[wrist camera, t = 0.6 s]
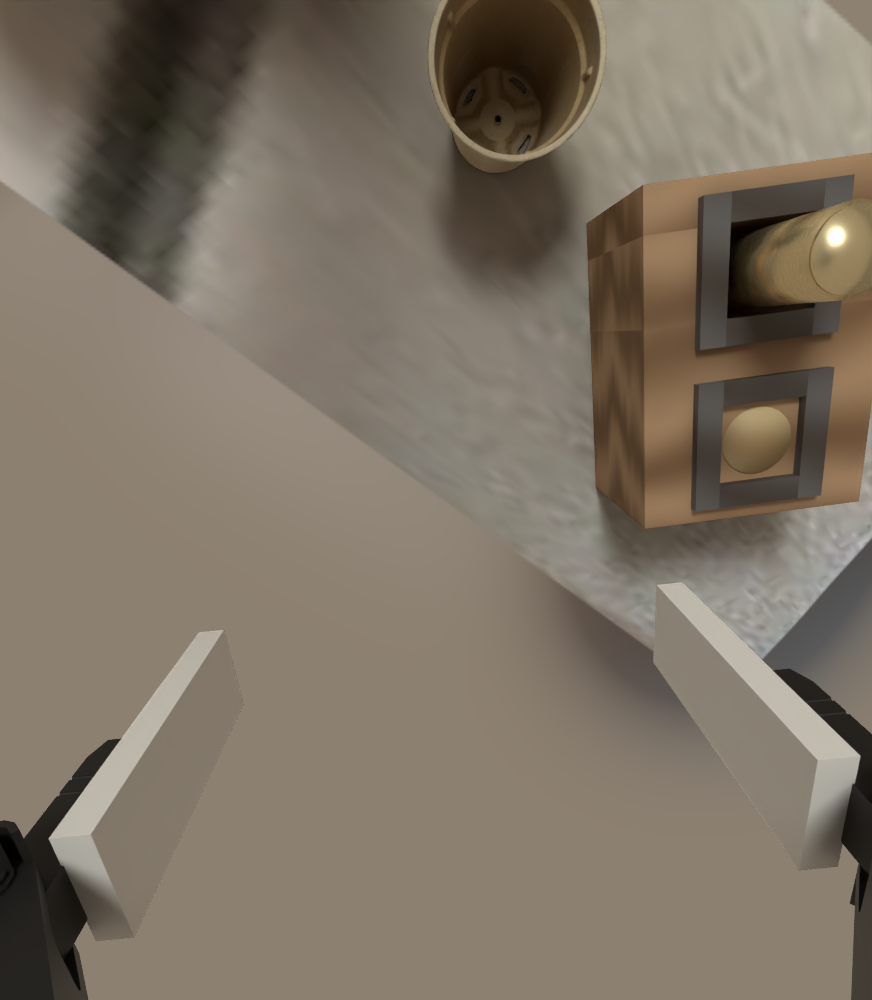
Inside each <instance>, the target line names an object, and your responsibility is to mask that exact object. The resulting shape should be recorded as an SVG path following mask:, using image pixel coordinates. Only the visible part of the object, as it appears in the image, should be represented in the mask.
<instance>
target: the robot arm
mask: <svg viewBox="0 0 872 1000" xmlns="http://www.w3.org/2000/svg"><path fill="white" fill-rule="evenodd" d="M653 662H654V664H655V665H656V666H657V668H658V669H659V671H660V672H661V674H662V675H663V676H664V678H665V679H666V681H667V682H668V684H669V685H670V687H671V688H672V689H673V691H674V692H675V694H676V695H677V697H678V698H679V699H680V701H681V702H682V704H683V705H684V706H685V708H686V709H687V711H688V712H689V714H690V715H691V717H692V718H693V720H694V721H695V722H696V724H697V725H698V727H699V728H700V730H701V731H702V732H703V734H704V735H705V737H706V738H707V739H708V741H709V742H710V744H711V745H712V746H713V748H714V750H715V751H716V752H717V754H718V755H719V756H720V758H721V759H722V761H723V763H724V764H725V765H726V767H727V768H728V770H729V771H730V773H731V774H732V775H733V777H734V778H735V780H736V781H737V783H738V784H739V786H740V787H741V788H742V790H743V791H744V793H745V794H746V796H747V797H748V798H749V800H750V801H751V803H752V804H753V806H754V807H755V808H756V810H757V811H758V813H759V814H760V816H761V817H762V818H763V820H764V821H765V823H766V824H767V826H768V827H769V829H770V830H771V831H772V833H773V834H774V836H775V837H776V839H777V840H778V841H779V843H780V844H781V846H782V847H783V849H784V850H785V851H786V853H787V854H788V856H789V857H790V859H791V860H792V861H793V863H794V864H795V866H796V867H797V869H798V870H808V869H818V868H828V867H837V866H838V863H839V858H840V853H841V848H842V844H843V845H844V846H845V847H846V848H847V849H848V851H849V852H850V853H851V854H852V855H853V857H854V858H855V859H856V860H857V862H858V863H859V865H858V869H857V874H856V879H855V883H854V887H853V892H852V896H851V901H850V904H852V905H854V906H855V918H854V944H853V968H852V993H851V994H852V995H851V1000H872V734H871V733H870V732H869V731H868V730H866V729H865V728H864V727H863V726H862V725H861V724H860V723H859V722H858V721H856V720H855V719H854V718H853V717H852V716H851V715H850V714H846V711H845V710H844V709H843V708H842V707H841V706H840V705H839V704H838V703H836V702H835V701H832V700H831V697H830V696H829V695H828V694H826V693H825V692H824V691H823V690H822V689H821V688H820V687H819V686H818V685H816V684H815V683H814V682H813V681H811V680H809V679H808V678H806V677H804V676H802V675H800V674H798V673H797V672H795V671H793V670H791V669H782V670H771V668H769V667H768V666H767V665H766V664H765V663H764V662H763V661H762V660H761V659H760V658H759V657H758V656H757V655H756V654H755V653H754V652H753V651H752V650H751V649H750V648H749V647H748V646H747V645H746V644H745V643H744V642H743V641H742V640H741V639H740V638H739V637H738V636H737V635H736V634H735V633H734V632H732V631H731V630H730V629H729V628H728V627H727V626H726V625H725V624H724V623H723V622H722V621H721V620H720V619H719V618H718V617H717V616H716V615H715V614H714V613H713V612H712V611H711V610H710V609H709V608H708V607H707V606H706V605H705V604H704V603H703V602H702V601H701V600H700V599H699V598H698V597H696V596H695V595H694V594H693V593H692V592H691V591H690V590H689V589H688V588H687V587H686V586H685V585H684V584H683V583H682V582H680V583H671V584H661V585H657V587H656V611H655V636H654V661H653ZM243 705H244V702H243V699H242V695H241V691H240V688H239V684H238V680H237V676H236V673H235V669H234V665H233V661H232V658H231V654H230V650H229V647H228V643H227V639H226V635H225V631H224V630H217V631H207V632H199V633H198V634H197V636H196V637H195V638H194V640H193V641H192V643H191V644H190V645H189V647H188V648H187V650H186V651H185V652H184V654H183V655H182V656H181V658H180V659H179V660H178V662H177V663H176V664H175V666H174V667H173V669H172V670H171V671H170V673H169V674H168V676H167V677H166V678H165V680H164V681H163V682H162V684H161V685H160V687H159V688H158V689H157V691H156V692H155V693H154V695H153V696H152V698H151V699H150V700H149V702H148V703H147V704H146V706H145V707H144V709H143V710H142V711H141V713H140V714H139V715H138V717H137V718H136V719H135V721H134V722H133V723H132V725H131V726H130V728H129V729H128V730H127V732H126V733H125V734H124V736H123V737H122V739H113V740H108V741H106V742H105V743H104V744H103V745H102V746H101V747H99V748H98V749H97V750H96V751H94V752H93V753H92V754H91V755H90V756H88V757H87V758H86V759H85V761H84V762H83V763H82V765H81V766H80V767H79V768H78V770H77V771H76V772H75V774H74V775H73V776H72V780H69V781H68V783H67V784H66V785H65V786H64V788H63V789H62V790H61V792H60V795H59V796H57V797H56V798H55V799H54V801H53V802H52V803H51V805H50V806H49V807H48V808H47V810H46V811H45V812H44V813H43V815H42V816H41V817H40V819H39V820H38V821H37V822H36V824H35V825H34V826H33V828H32V829H31V830H30V831H29V833H28V834H27V835H26V837H25V838H24V839H23V837H22V835H21V832H20V830H19V829H18V827H17V825H16V824H15V823H14V822H10V821H5V820H4V821H0V1000H88V996H87V991H86V986H85V981H84V976H83V971H82V965H81V960H80V955H79V952H78V950H77V948H76V946H75V944H74V943H75V941H76V939H77V937H78V935H79V934H80V932H81V930H82V928H83V926H84V925H85V923H86V921H87V923H88V925H89V927H90V929H91V931H92V934H93V936H94V938H95V940H96V941H103V940H113V939H123V938H132V937H135V935H136V933H137V931H138V929H139V927H140V925H141V922H142V920H143V918H144V916H145V914H146V912H147V910H148V907H149V905H150V903H151V901H152V899H153V897H154V895H155V893H156V891H157V888H158V886H159V884H160V882H161V880H162V878H163V876H164V873H165V871H166V869H167V867H168V865H169V863H170V861H171V859H172V856H173V854H174V852H175V850H176V848H177V846H178V844H179V842H180V839H181V837H182V835H183V833H184V831H185V829H186V826H187V824H188V822H189V820H190V818H191V816H192V814H193V812H194V809H195V807H196V805H197V803H198V801H199V799H200V797H201V794H202V793H203V790H204V788H205V786H206V784H207V782H208V780H209V777H210V775H211V773H212V771H213V769H214V767H215V765H216V763H217V761H218V758H219V756H220V754H221V752H222V750H223V748H224V745H225V744H226V741H227V739H228V737H229V735H230V733H231V731H232V729H233V726H234V724H235V722H236V720H237V718H238V716H239V714H240V712H241V709H242V707H243Z"/></svg>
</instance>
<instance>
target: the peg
mask: <svg viewBox="0 0 872 1000" xmlns="http://www.w3.org/2000/svg"><path fill="white" fill-rule="evenodd" d="M871 288H872V200H870V199H855V200H850V201H847V202H844V203H841V204H837V205H834V206H831V207H828V208H825V209H822V210H818V211H815V212H812V213H809V214H806V215H803V216H799V217H796V218H793V219H790V220H787V221H784V222H780V223H777V224H774V225H771V226H768V227H765V228H761V229H758V230H755V231H752V232H749V233H746V234H742V235H740V236H737V237H735V238H734V239H732V240H731V241H730V256H729V280H728V304H727V306H729V307H731V308H736V309H743V308H755V307H767V306H779V305H791V304H803V303H815V302H826V301H838V300H848V299H852V298H855V297H858V296H860V295H862V294H864V293H866V292H867V291H869V290H870V289H871Z"/></svg>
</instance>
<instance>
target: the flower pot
mask: <svg viewBox="0 0 872 1000" xmlns="http://www.w3.org/2000/svg"><path fill="white" fill-rule="evenodd" d="M606 49H607V44H606V32H605V25H604V20H603V17H602V12H601V8H600V6H599V3H598V1H597V0H441V1H440V3H439V5H438V8H437V11H436V13H435V15H434V19H433V22H432V26H431V29H430V36H429V45H428V71H429V78H430V84H431V88H432V92H433V95H434V99H435V101H436V104H437V106H438V108H439V111H440V113H441V115H442V117H443V118H444V120H445V122H446V124H447V125H448V127H449V128H450V129H451V131H452V133H453V137H454V140H455V143H456V145H457V147H458V149H459V151H460V153H461V154H462V156H463V157H464V158H465V159H466V160H467V161H468V162H469V163H470V164H471V165H473V166H474V167H476V168H478V169H479V170H482V171H485V172H489V173H502V172H507V171H510V170H512V169H515V168H516V167H518V166H520V165H521V164H522V163H524V162H525V161H529V160H533V159H536V158H539V157H542V156H544V155H546V154H548V153H550V152H551V151H553V150H555V149H557V148H558V147H559V146H561V145H562V144H563V143H565V142H566V141H567V140H568V139H569V138H570V137H571V136H572V135H573V134H574V133H575V132H576V131H577V129H578V128H579V127H580V126H581V124H582V123H583V122H584V120H585V119H586V117H587V116H588V114H589V112H590V110H591V109H592V107H593V105H594V103H595V100H596V98H597V96H598V93H599V90H600V87H601V84H602V79H603V75H604V70H605V62H606ZM512 78H513V79H516V80H519V81H520V82H521V83H522V84H523V85H524V86H525V88H526V93H525V94H524V93H523V92H522V91H521V90H520V89H518V88H517V87H516V86H515V85H514V84H512V83H511V82H510V81H511V79H512ZM472 90H475V93H474V95H473V97H472V101H470V102H469V103H468V104H467V105H464V104H463V103H464V102H465V99H466V98H467V96H468V94H469V93H470V91H472ZM496 116H500V118H501V121H500V122H495V117H496ZM527 136H530V137H531V138H530V140H529V144H528V146H527V148H526V150H525V151H524V153H523V154H519V153H518V149H519V147H520V146H521V145H522V144H523V142H524V141H525V139H526V137H527Z"/></svg>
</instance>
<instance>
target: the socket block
mask: <svg viewBox="0 0 872 1000" xmlns="http://www.w3.org/2000/svg"><path fill="white" fill-rule="evenodd" d="M855 199H870V200H872V153H868V154H861V155H853V156H846V157H839V158H832V159H825V160H818V161H810V162H803V163H796V164H789V165H782V166H775V167H768V168H760V169H753V170H746V171H739V172H732V173H725V174H718V175H710V176H703V177H696V178H689V179H682V180H675V181H667V182H660V183H653V184H646V185H642V186H641V187H639V188H638V189H636V190H635V191H633V192H632V193H631V194H629V195H628V196H626V197H625V198H623V199H622V200H620V201H619V202H617V203H616V204H614V205H613V206H611V207H610V208H609V209H607V210H606V211H604V212H603V213H601V214H600V215H598V216H597V217H595V218H594V219H592V220H591V221H590V222H588V223H587V246H588V274H589V302H590V330H591V358H592V387H593V415H594V443H595V471H596V487H597V488H598V489H600V490H601V491H602V492H603V493H604V494H605V495H606V496H608V497H609V498H610V499H611V500H612V501H613V502H615V503H616V504H617V505H618V506H619V507H620V508H621V509H623V510H624V511H625V512H626V513H627V514H628V515H629V516H631V517H632V518H633V519H634V520H635V521H636V522H638V523H639V524H640V525H641V526H642V527H643V528H644V529H648V528H656V527H664V526H671V525H679V524H687V523H695V522H702V521H710V520H718V519H725V518H733V517H741V516H749V515H756V514H764V513H772V512H779V511H787V510H795V509H803V508H810V507H818V506H826V505H834V504H841V503H849V502H857V501H859V496H860V488H861V481H862V473H863V465H864V457H865V450H866V442H867V434H868V427H869V419H870V411H871V403H872V288H871V289H870V290H869V291H867V292H866V293H864V294H862V295H860V296H858V297H855V298H852V299H848V300H838V301H826V302H815V303H803V304H791V305H779V306H767V307H755V308H743V309H736V308H731V307H729V306H727V304H728V280H729V256H730V241H731V240H732V239H734V238H735V237H737V236H740V235H742V234H746V233H749V232H752V231H755V230H758V229H761V228H765V227H768V226H771V225H774V224H777V223H780V222H784V221H787V220H790V219H793V218H796V217H799V216H803V215H806V214H809V213H812V212H815V211H818V210H822V209H825V208H828V207H831V206H834V205H837V204H841V203H844V202H847V201H850V200H855Z"/></svg>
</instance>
